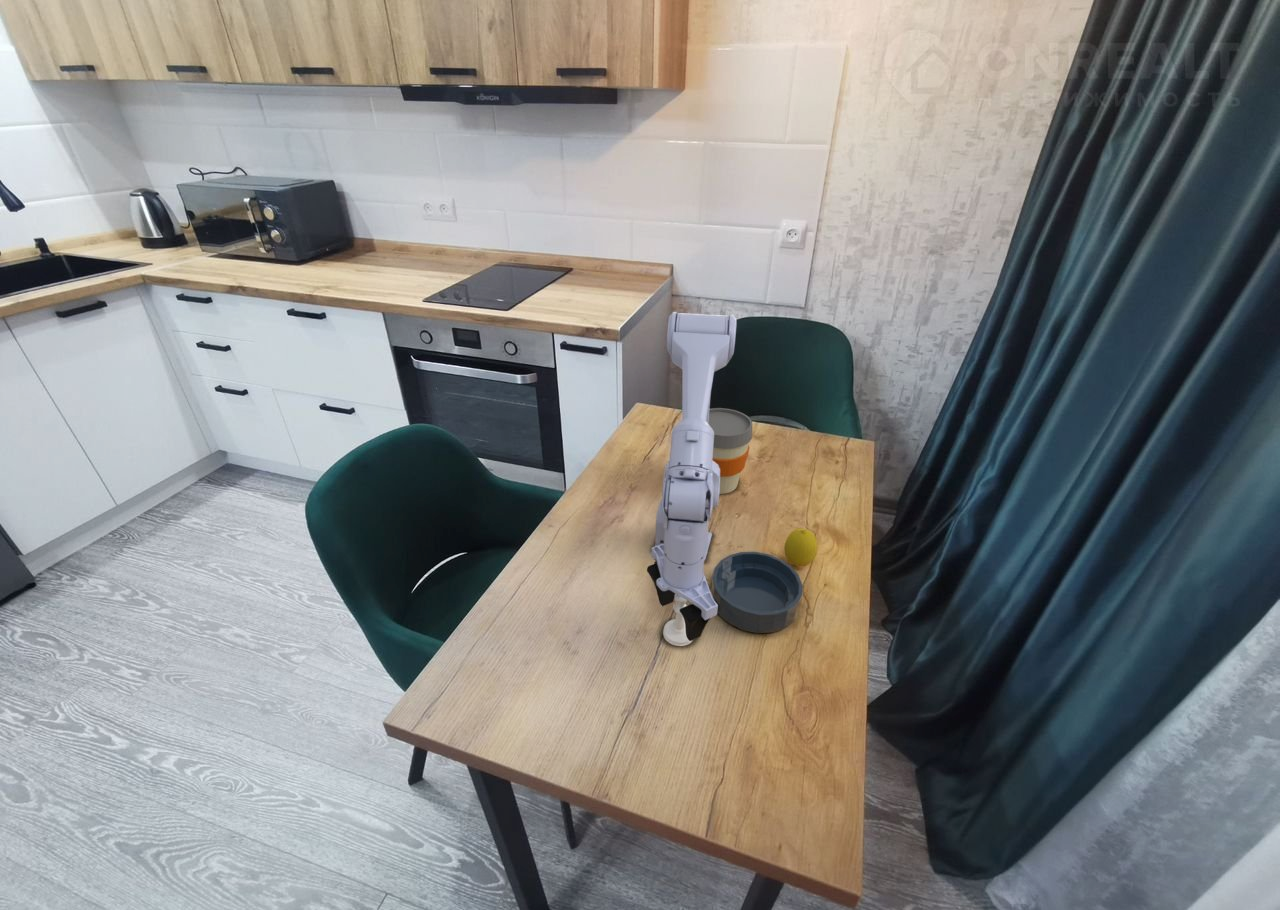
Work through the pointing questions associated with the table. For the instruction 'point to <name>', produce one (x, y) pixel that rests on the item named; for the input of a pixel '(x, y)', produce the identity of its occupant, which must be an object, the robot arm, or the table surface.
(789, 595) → the bowl
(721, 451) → the reusable coffee cup
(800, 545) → the lemon
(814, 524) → the table surface
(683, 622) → the chess piece
